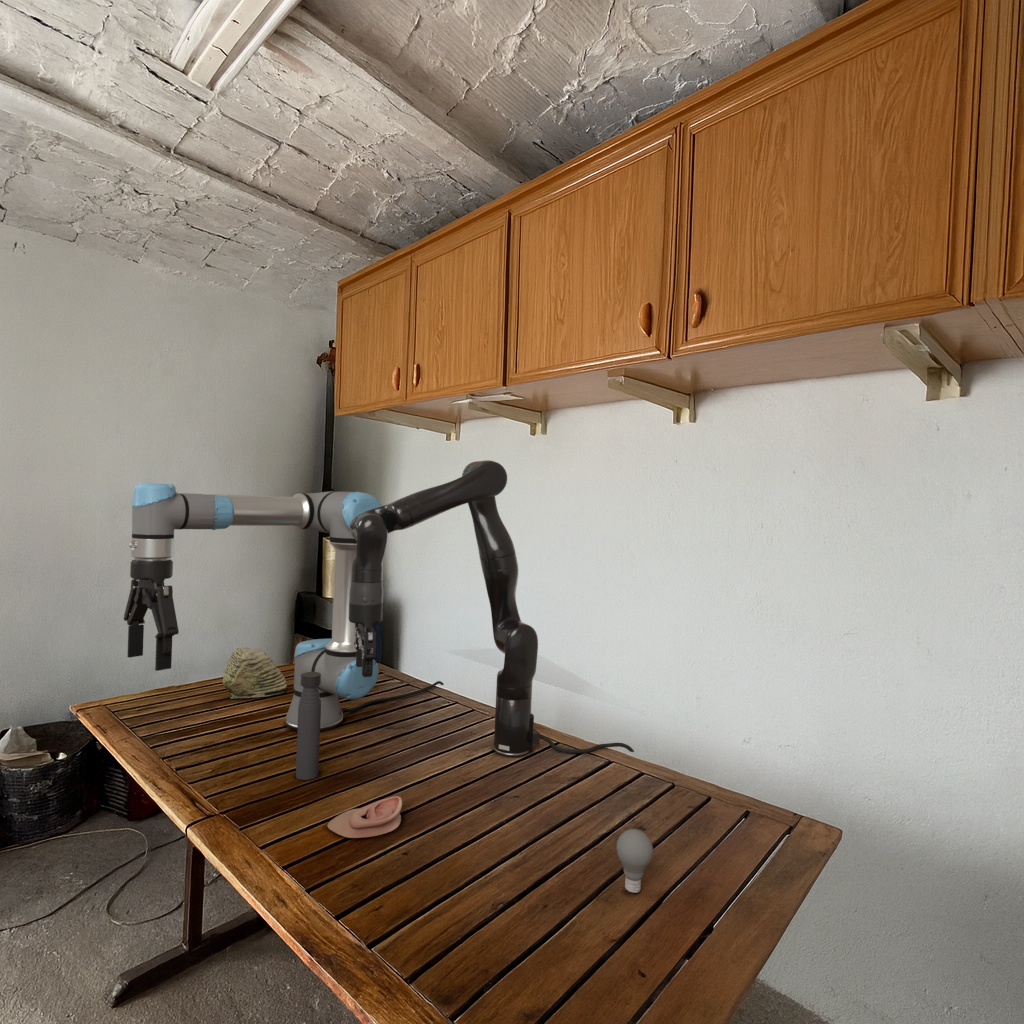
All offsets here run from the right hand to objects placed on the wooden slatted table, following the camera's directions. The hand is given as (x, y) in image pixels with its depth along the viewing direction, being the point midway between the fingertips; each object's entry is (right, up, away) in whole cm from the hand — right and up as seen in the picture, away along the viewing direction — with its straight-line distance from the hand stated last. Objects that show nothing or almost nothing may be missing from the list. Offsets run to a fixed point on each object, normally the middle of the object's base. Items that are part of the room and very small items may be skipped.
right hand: (363, 671), depth 144 cm
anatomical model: (+5, -25, -21) cm, 33 cm away
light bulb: (+54, -27, -39) cm, 72 cm away
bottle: (-13, -23, -1) cm, 27 cm away
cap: (-12, -1, -1) cm, 12 cm away
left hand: (-40, +6, -15) cm, 43 cm away
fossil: (-47, -21, +54) cm, 74 cm away
